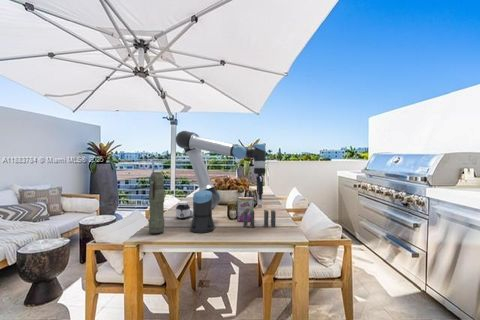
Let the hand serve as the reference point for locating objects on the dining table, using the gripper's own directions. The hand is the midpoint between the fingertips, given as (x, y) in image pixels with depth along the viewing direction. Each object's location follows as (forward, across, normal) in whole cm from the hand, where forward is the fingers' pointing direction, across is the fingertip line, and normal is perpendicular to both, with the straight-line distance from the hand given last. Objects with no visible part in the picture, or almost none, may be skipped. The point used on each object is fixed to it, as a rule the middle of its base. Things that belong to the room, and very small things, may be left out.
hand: (259, 203), depth 160 cm
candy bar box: (+15, +14, +8) cm, 22 cm away
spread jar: (+15, +25, +52) cm, 59 cm away
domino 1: (+15, 0, +9) cm, 17 cm away
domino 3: (+2, 0, 0) cm, 2 cm away
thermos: (+15, -9, +63) cm, 65 cm away
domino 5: (+15, 0, -9) cm, 17 cm away
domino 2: (+15, 0, +5) cm, 15 cm away
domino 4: (+15, 0, -4) cm, 15 cm away
